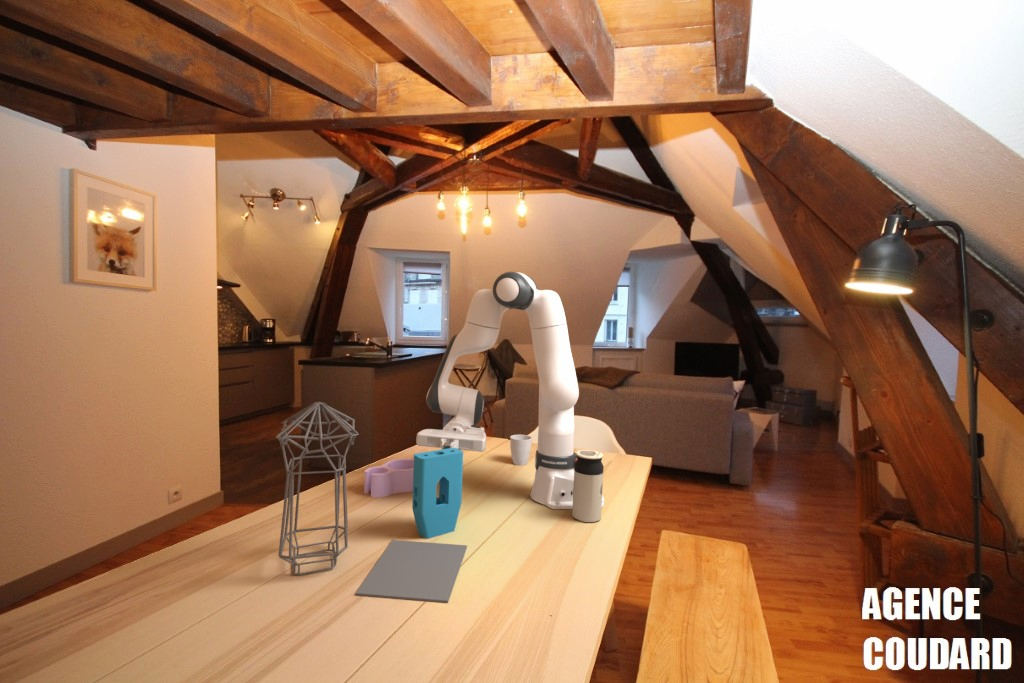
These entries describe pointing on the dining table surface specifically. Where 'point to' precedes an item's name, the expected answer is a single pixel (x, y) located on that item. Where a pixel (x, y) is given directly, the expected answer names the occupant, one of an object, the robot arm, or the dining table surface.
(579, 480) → the travel mug
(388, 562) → the mat
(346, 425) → the geometric lantern
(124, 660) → the dining table surface
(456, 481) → the block
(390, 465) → the clip
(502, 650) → the dining table surface
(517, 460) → the cup
